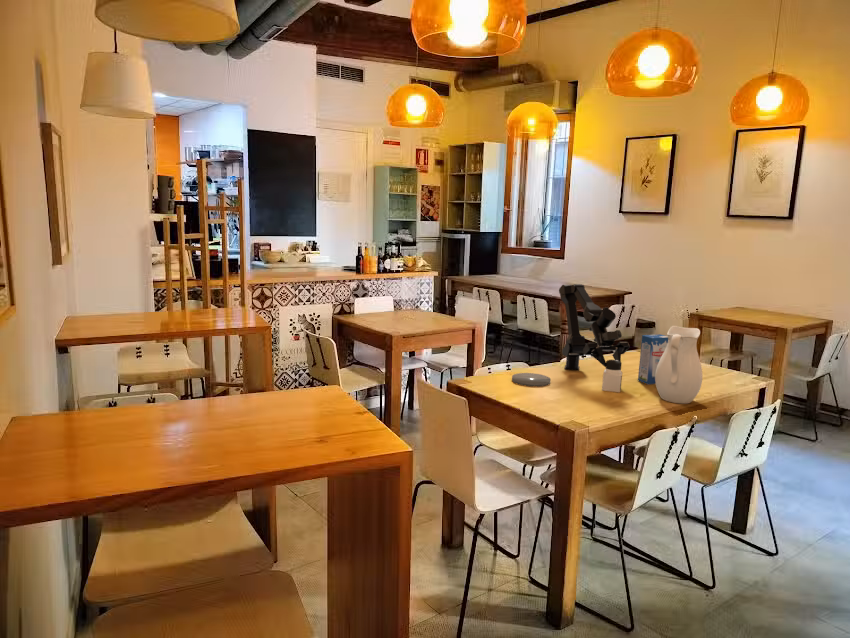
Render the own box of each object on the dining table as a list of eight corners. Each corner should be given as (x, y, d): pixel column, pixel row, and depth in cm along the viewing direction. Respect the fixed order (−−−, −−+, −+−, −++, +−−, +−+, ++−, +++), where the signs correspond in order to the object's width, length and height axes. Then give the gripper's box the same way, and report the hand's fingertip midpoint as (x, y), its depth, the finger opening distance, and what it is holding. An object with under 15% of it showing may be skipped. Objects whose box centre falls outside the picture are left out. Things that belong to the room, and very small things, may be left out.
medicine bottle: (620, 392, 252) (622, 363, 250) (601, 390, 254) (604, 361, 252) (620, 388, 258) (623, 359, 256) (602, 386, 261) (605, 357, 259)
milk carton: (656, 379, 275) (660, 334, 272) (666, 382, 269) (671, 337, 266) (637, 380, 271) (642, 335, 268) (647, 384, 266) (652, 338, 262)
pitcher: (659, 390, 257) (666, 323, 252) (703, 399, 247) (711, 329, 242) (642, 404, 237) (649, 331, 232) (689, 413, 228) (698, 338, 223)
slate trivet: (514, 374, 274) (514, 371, 273) (551, 378, 270) (552, 375, 269) (509, 384, 259) (509, 380, 258) (548, 388, 254) (549, 384, 254)
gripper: (588, 323, 255) (600, 356, 246) (629, 322, 260) (642, 355, 251) (577, 338, 264) (588, 370, 255) (617, 337, 269) (629, 369, 260)
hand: (612, 366), depth 255 cm, fingers closed on medicine bottle, 6 cm apart
